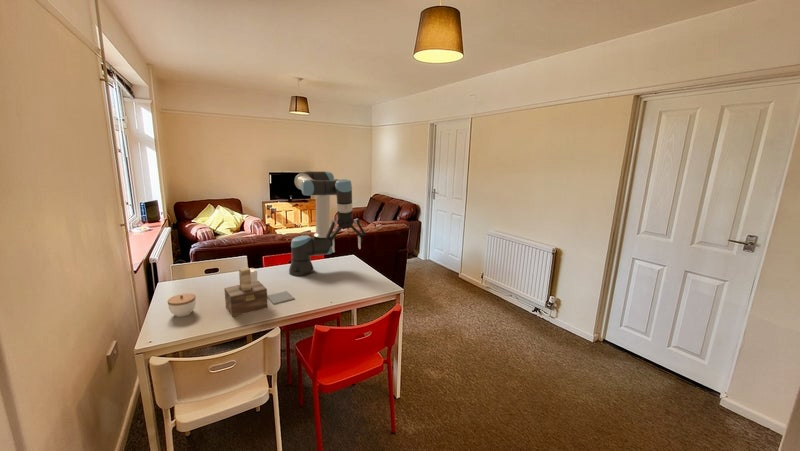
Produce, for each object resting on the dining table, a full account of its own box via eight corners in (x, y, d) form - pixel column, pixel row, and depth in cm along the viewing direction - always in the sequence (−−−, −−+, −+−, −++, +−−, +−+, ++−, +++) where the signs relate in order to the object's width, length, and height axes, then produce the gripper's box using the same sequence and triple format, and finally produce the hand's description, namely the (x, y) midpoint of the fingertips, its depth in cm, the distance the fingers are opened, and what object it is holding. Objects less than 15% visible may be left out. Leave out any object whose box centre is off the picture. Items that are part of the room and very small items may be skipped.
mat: (266, 296, 171) (266, 295, 171) (286, 292, 178) (286, 291, 178) (273, 304, 163) (273, 303, 163) (294, 299, 170) (294, 298, 170)
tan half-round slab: (242, 295, 172) (240, 273, 169) (241, 289, 179) (240, 268, 176) (258, 292, 176) (257, 271, 173) (257, 287, 182) (256, 267, 180)
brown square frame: (225, 307, 158) (224, 288, 156) (259, 298, 168) (258, 281, 166) (232, 317, 149) (231, 297, 147) (267, 308, 159) (267, 289, 157)
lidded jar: (194, 306, 157) (192, 288, 155) (198, 314, 150) (197, 296, 148) (167, 312, 150) (165, 293, 148) (170, 321, 143) (168, 302, 141)
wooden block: (240, 295, 158) (238, 268, 155) (249, 293, 160) (247, 267, 157) (242, 298, 155) (241, 271, 152) (251, 296, 157) (250, 269, 154)
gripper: (320, 215, 154) (323, 255, 161) (371, 210, 162) (371, 249, 169) (318, 210, 160) (321, 249, 167) (367, 206, 168) (368, 244, 175)
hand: (346, 249), depth 168 cm, fingers open, 13 cm apart
